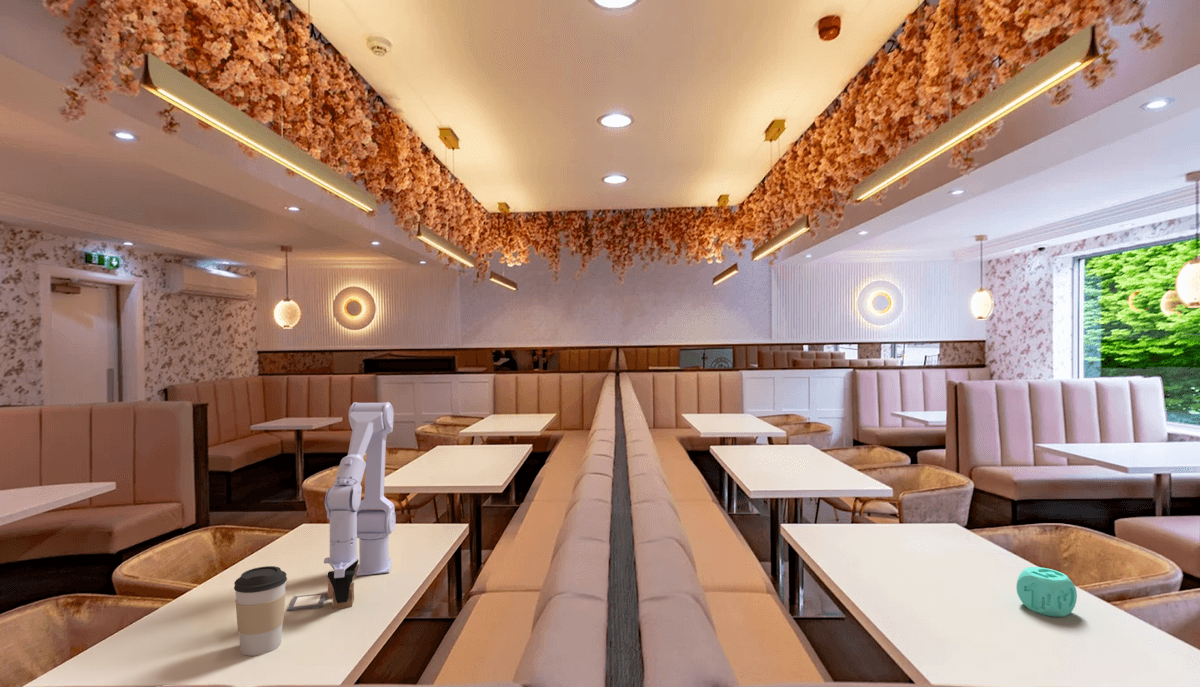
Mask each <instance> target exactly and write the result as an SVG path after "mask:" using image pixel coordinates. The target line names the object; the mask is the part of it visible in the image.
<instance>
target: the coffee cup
mask: <svg viewBox="0 0 1200 687" xmlns="http://www.w3.org/2000/svg"><path fill="white" fill-rule="evenodd" d="M287 580H288V577H287V573H286V572H285V571H283V570H282V569H281V568H280V567H279V566H275V565H274V566H272V565H270V566H269V565H267V566H259V567H254V568H251V569H248V570H246V571H244V572H243V573H241V575H240V576H239V577H238V578H236V579H235V581H234V582H233V583H234V586H233V589H234V591H235V601H234V602H235V613H236V623H237V624H236V625H237V632H238V635H239V645H240V646H239V647H240V653H241V654H242V655H243V656H253V657H254V656H260V655H264V654H267V653H271V652H272V651H275V650H277V648H279V647H280V646H281V645H282V644H281V643H282V637H283V636H282V635H283V634H282V633H283V624H284V620H285V605H286V604H285V603H286V593H287V592H286V583H287Z"/></svg>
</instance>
